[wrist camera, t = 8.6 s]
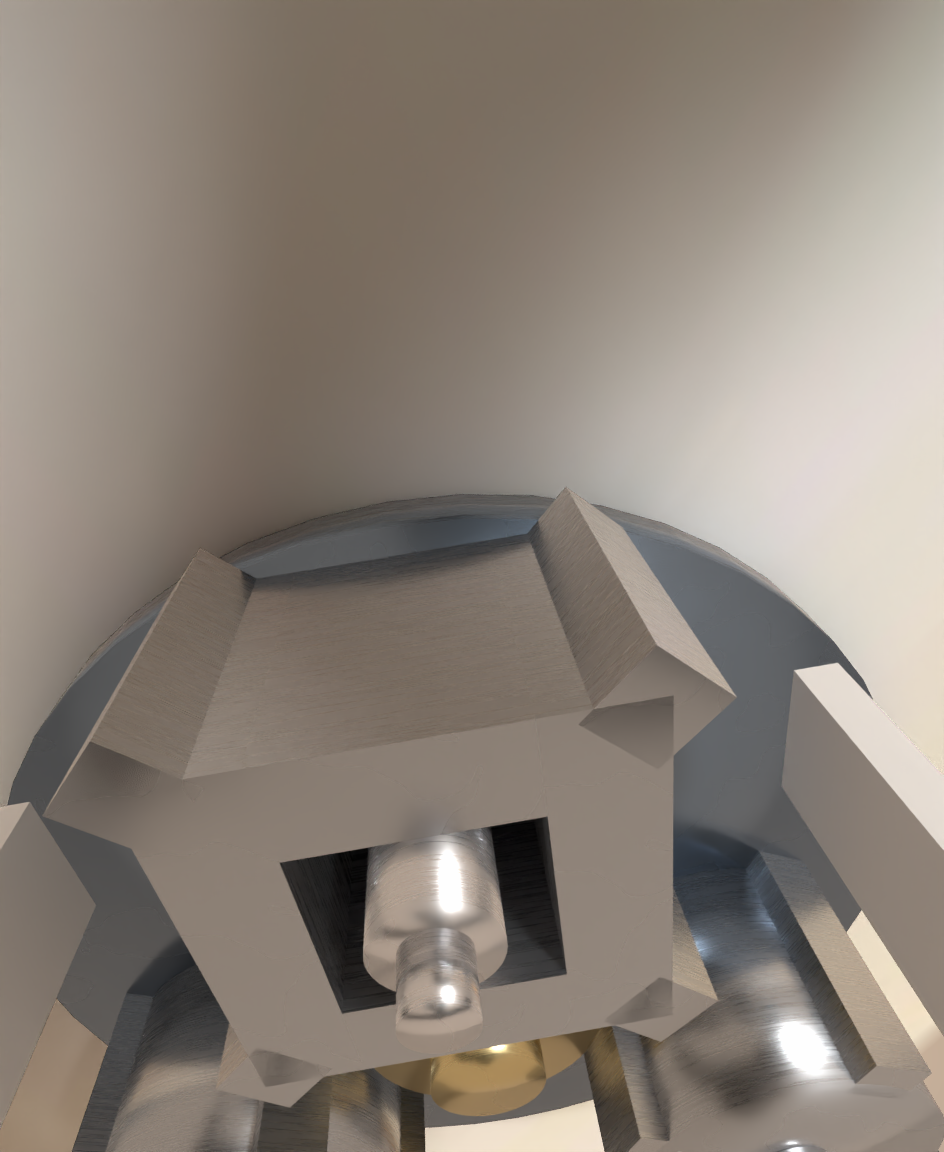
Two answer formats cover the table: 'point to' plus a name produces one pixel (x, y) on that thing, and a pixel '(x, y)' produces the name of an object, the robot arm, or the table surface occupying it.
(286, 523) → the table surface
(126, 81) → the table surface
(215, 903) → the grey square frame
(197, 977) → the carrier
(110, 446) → the table surface
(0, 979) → the robot arm
